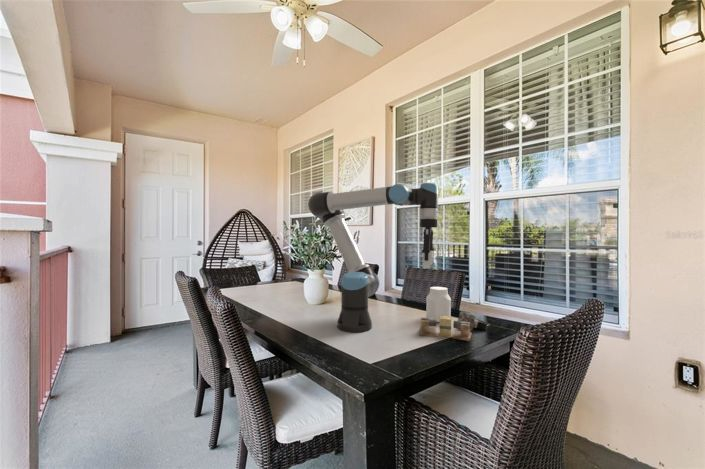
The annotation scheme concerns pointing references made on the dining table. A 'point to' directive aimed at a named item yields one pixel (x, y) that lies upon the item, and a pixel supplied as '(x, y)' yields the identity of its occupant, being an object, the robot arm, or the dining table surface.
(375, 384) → the dining table surface
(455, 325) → the shaft right
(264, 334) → the dining table surface
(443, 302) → the jar
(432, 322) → the shaft left
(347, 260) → the robot arm
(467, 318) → the caster wheel
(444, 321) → the block
